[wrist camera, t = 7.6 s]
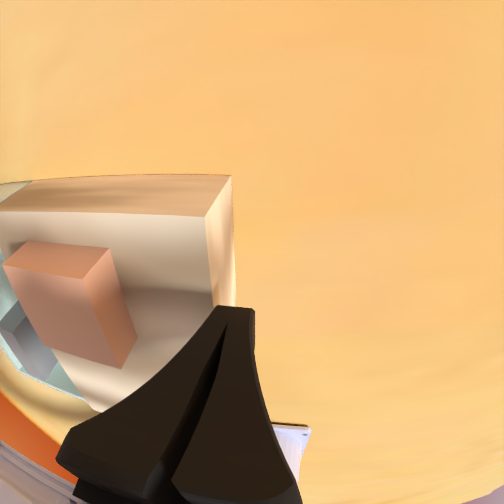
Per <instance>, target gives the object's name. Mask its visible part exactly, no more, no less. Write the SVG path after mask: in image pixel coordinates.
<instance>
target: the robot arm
mask: <svg viewBox="0 0 504 504" xmlns="http://www.w3.org/2000/svg"><path fill="white" fill-rule="evenodd" d="M254 348H255V311H254V310H253V309H252V308H243V307H233V306H224V305H217V306H216V307H215V308H214V309H213V310H212V312H211V313H210V315H209V316H208V317H207V319H206V320H205V321H204V323H203V324H202V325H201V326H200V328H199V329H198V330H197V331H196V333H195V334H194V335H193V336H192V337H191V338H190V340H189V341H188V342H187V343H186V344H185V345H184V346H183V348H182V349H181V350H180V351H179V352H178V353H177V354H176V355H175V356H174V357H173V358H172V359H171V360H170V361H169V362H168V363H167V364H166V365H165V366H164V367H163V368H162V369H161V370H160V371H159V372H158V373H156V374H155V375H154V376H153V377H152V378H151V379H149V380H148V381H147V382H146V383H145V384H143V385H142V386H141V387H139V388H138V389H137V390H136V391H134V392H133V393H132V394H130V395H129V396H127V397H126V398H124V399H123V400H121V401H120V402H118V403H117V404H115V405H113V406H112V407H110V408H109V409H107V410H105V411H104V412H102V413H100V414H99V415H97V416H95V417H93V418H91V419H89V420H87V421H85V422H83V423H81V424H79V425H76V426H74V427H72V428H71V429H70V431H69V432H68V434H67V435H66V437H65V439H64V441H63V443H62V445H61V448H60V450H59V452H58V454H57V456H56V458H55V459H56V461H57V462H58V464H60V465H61V466H62V467H64V468H65V469H66V470H68V471H69V472H71V473H72V474H73V475H75V476H77V477H78V478H79V479H78V481H77V484H76V485H74V484H72V483H70V482H68V481H66V480H64V479H63V478H61V477H59V476H57V475H55V474H53V473H52V472H50V471H48V470H46V469H45V468H43V467H41V466H39V465H38V464H36V463H35V462H33V461H31V460H30V459H28V458H27V457H25V456H23V455H22V454H20V453H19V452H17V451H16V450H14V449H13V448H11V447H10V446H9V445H7V444H6V443H4V442H3V441H1V440H0V504H77V502H78V503H80V504H303V502H302V499H301V496H300V492H299V489H298V479H299V469H300V459H301V457H302V454H303V452H304V450H305V447H306V445H307V442H308V439H309V437H310V434H311V428H310V427H302V426H288V425H277V424H271V421H270V418H269V415H268V412H267V409H266V405H265V402H264V398H263V395H262V391H261V387H260V383H259V378H258V373H257V368H256V362H255V355H254ZM75 501H76V502H75Z"/></svg>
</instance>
